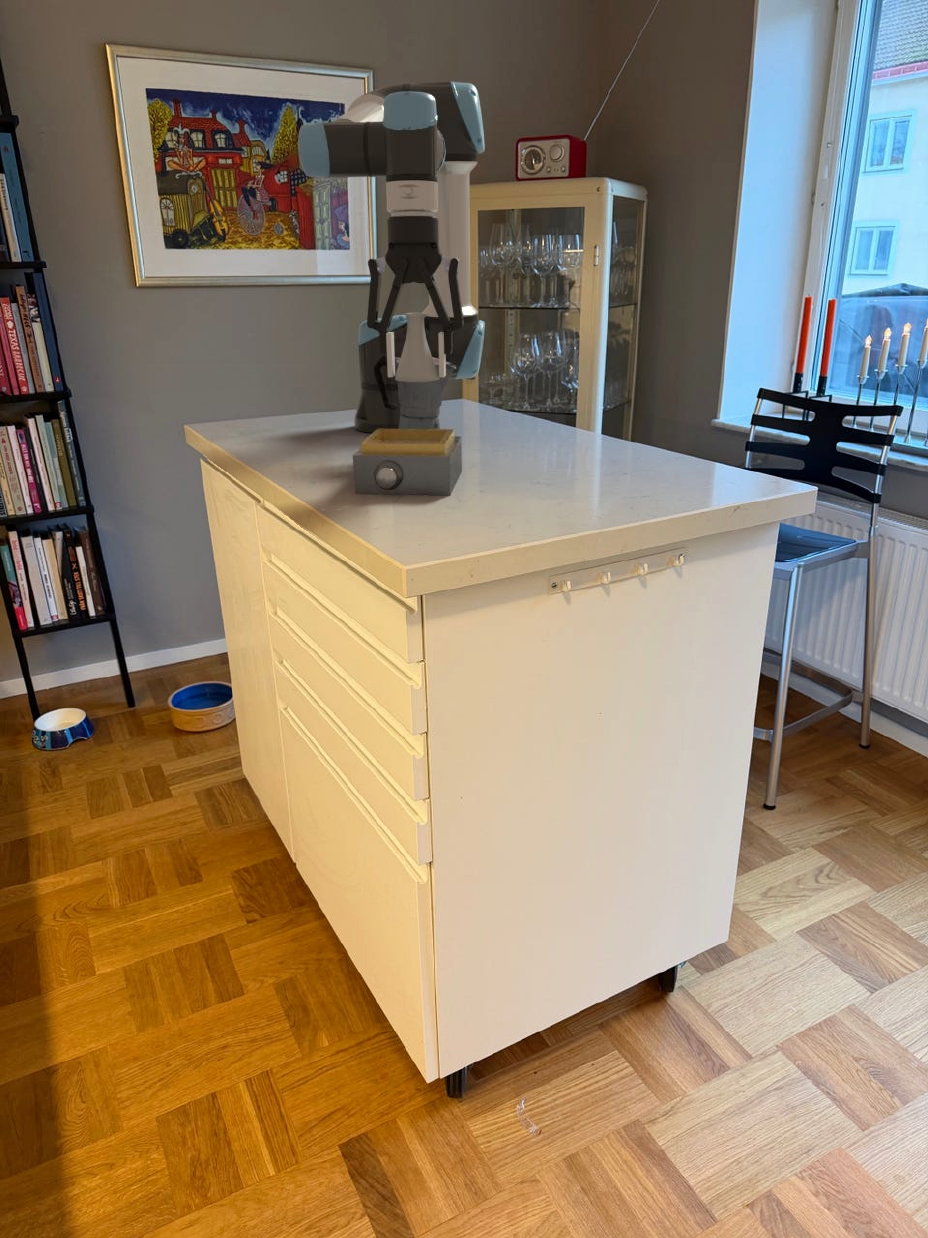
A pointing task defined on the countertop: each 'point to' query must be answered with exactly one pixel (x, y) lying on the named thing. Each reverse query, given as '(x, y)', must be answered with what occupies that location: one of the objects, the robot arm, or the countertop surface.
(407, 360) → the flask
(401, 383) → the moka pot
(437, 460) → the plate
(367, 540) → the countertop surface
